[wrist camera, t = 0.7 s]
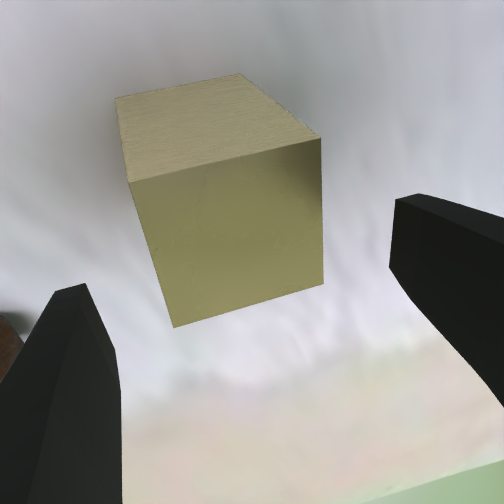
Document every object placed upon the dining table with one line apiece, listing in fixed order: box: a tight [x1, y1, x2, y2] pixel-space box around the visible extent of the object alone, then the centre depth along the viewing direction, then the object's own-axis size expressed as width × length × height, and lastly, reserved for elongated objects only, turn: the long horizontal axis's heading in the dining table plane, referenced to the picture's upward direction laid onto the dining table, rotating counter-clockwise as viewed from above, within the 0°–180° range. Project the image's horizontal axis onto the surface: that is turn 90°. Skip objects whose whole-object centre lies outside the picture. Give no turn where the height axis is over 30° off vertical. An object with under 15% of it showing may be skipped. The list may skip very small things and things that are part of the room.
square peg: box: [115, 74, 324, 328], centre depth 14 cm, size 4×4×7 cm
